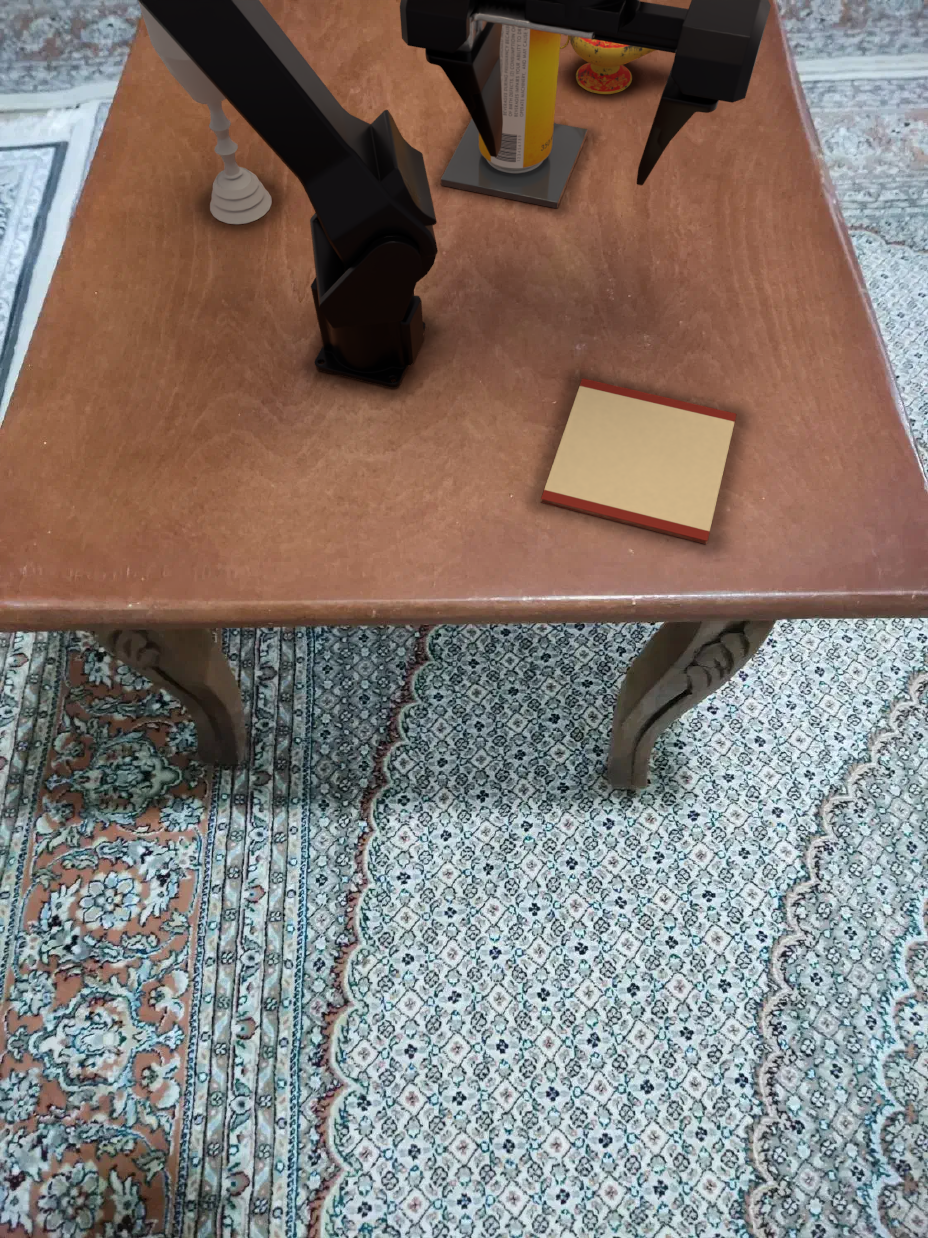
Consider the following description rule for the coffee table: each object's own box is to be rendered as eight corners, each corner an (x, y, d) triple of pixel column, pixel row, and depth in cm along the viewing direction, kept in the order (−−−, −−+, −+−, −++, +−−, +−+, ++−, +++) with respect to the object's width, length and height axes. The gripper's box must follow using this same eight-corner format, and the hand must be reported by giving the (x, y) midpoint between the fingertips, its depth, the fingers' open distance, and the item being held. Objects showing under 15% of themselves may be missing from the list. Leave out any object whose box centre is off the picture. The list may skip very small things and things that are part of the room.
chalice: (221, 244, 70) (147, -3, 54) (181, 199, 73) (100, -49, 57) (300, 207, 72) (251, -42, 56) (258, 164, 75) (200, -84, 59)
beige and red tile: (540, 502, 58) (541, 498, 58) (581, 381, 63) (582, 377, 63) (706, 544, 57) (707, 540, 56) (735, 417, 61) (736, 413, 61)
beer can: (555, 135, 75) (572, -68, 62) (546, 180, 73) (561, -22, 59) (485, 128, 76) (487, -75, 63) (473, 173, 73) (472, -30, 60)
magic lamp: (723, 105, 78) (759, -35, 68) (520, 96, 79) (527, -43, 69) (720, 59, 81) (753, -80, 72) (524, 52, 82) (532, -87, 72)
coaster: (440, 185, 73) (440, 178, 73) (476, 114, 78) (476, 107, 77) (557, 208, 72) (557, 202, 71) (587, 135, 76) (587, 128, 76)
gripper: (827, -199, 43) (741, 116, 56) (459, -244, 45) (463, 66, 59) (795, -87, 38) (709, 228, 51) (384, -145, 40) (407, 168, 54)
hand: (567, 166), depth 54 cm, fingers open, 9 cm apart
